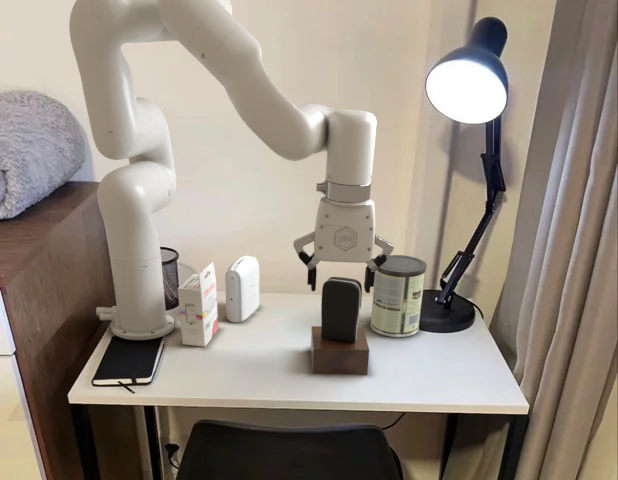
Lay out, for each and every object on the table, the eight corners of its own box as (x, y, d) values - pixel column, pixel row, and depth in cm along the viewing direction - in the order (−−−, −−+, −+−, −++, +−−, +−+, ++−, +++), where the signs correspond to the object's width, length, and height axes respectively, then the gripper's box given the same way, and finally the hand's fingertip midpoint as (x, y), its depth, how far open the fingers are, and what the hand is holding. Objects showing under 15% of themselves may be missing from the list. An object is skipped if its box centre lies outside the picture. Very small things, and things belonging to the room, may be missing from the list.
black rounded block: (360, 336, 124) (364, 277, 118) (356, 344, 120) (360, 284, 115) (324, 330, 125) (326, 272, 119) (318, 339, 122) (321, 279, 116)
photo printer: (242, 324, 139) (241, 267, 132) (223, 321, 140) (221, 264, 134) (262, 307, 147) (261, 252, 141) (244, 304, 148) (243, 250, 142)
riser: (312, 373, 121) (313, 349, 118) (310, 349, 129) (311, 326, 127) (367, 374, 121) (369, 349, 119) (361, 350, 130) (363, 326, 127)
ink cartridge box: (195, 327, 137) (191, 258, 129) (218, 329, 136) (216, 260, 129) (180, 344, 130) (175, 272, 122) (204, 347, 129) (201, 275, 121)
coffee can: (377, 314, 145) (383, 251, 138) (423, 322, 142) (432, 259, 135) (363, 332, 137) (368, 266, 130) (411, 341, 134) (419, 274, 127)
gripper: (295, 195, 106) (291, 295, 115) (402, 199, 107) (391, 299, 115) (294, 184, 112) (291, 280, 121) (396, 188, 113) (385, 283, 122)
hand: (340, 289), depth 118 cm, fingers open, 9 cm apart
